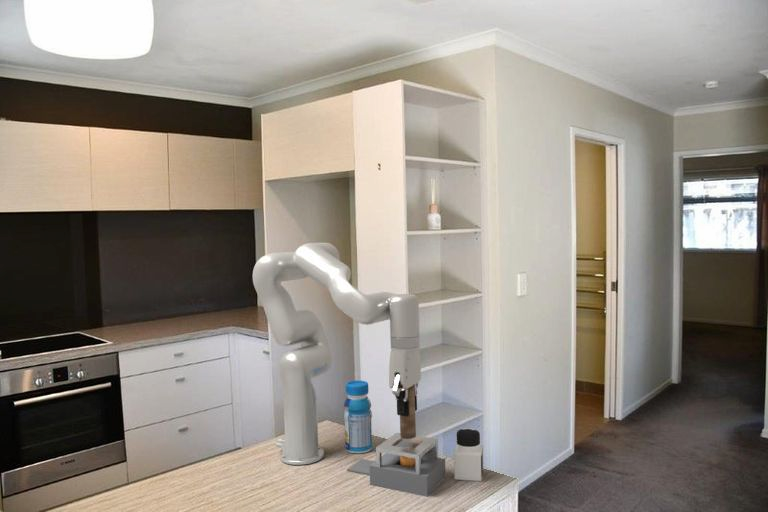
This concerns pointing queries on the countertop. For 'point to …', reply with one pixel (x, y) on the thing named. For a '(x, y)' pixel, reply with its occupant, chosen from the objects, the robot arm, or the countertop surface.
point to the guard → (398, 444)
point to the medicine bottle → (468, 456)
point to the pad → (361, 467)
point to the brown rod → (409, 417)
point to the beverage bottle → (357, 418)
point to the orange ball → (407, 460)
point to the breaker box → (408, 475)
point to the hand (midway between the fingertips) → (407, 412)
